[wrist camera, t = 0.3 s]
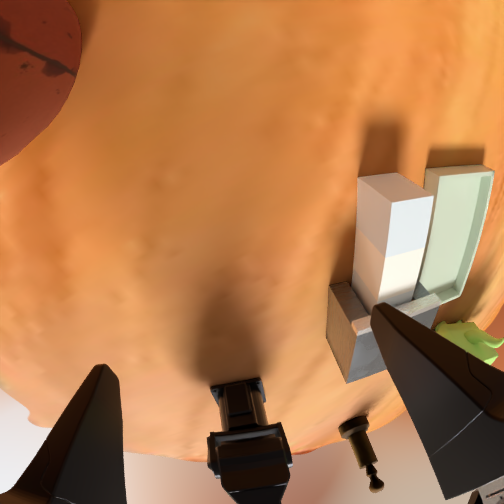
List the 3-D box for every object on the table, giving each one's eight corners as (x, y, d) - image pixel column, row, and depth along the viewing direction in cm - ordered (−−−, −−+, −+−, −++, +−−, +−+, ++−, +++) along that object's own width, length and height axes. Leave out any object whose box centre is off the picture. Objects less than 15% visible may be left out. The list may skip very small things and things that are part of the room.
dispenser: (392, 316, 32) (418, 355, 27) (325, 337, 32) (346, 383, 26) (405, 260, 27) (441, 300, 22) (329, 280, 27) (357, 331, 21)
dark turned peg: (363, 423, 54) (388, 487, 39) (336, 432, 53) (360, 499, 38) (368, 412, 50) (398, 482, 35) (340, 422, 50) (367, 496, 35)
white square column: (381, 291, 29) (404, 323, 25) (349, 301, 29) (369, 335, 25) (397, 172, 22) (433, 195, 18) (357, 177, 22) (391, 202, 17)
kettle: (400, 341, 36) (436, 402, 27) (472, 287, 34) (515, 337, 25) (408, 375, 44) (434, 423, 35) (467, 333, 42) (497, 375, 33)
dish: (452, 287, 32) (460, 296, 30) (400, 306, 32) (408, 317, 30) (481, 164, 23) (494, 171, 21) (425, 168, 22) (439, 176, 20)
